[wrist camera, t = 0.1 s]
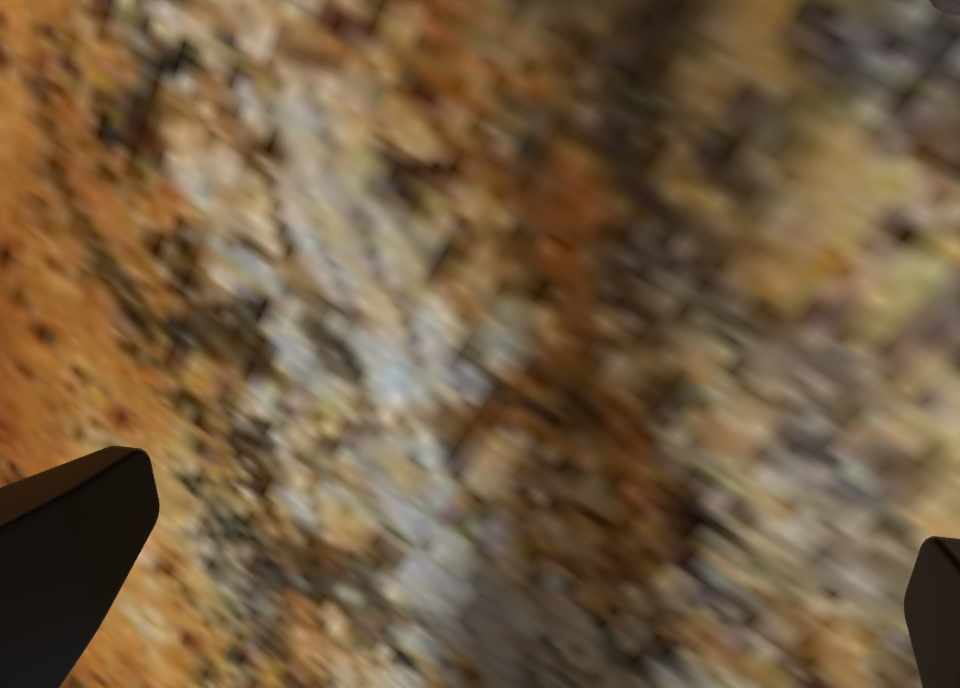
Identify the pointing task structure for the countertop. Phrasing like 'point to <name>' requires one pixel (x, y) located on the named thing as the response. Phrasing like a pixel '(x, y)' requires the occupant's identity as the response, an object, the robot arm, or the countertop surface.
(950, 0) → the smartphone
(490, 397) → the countertop surface
